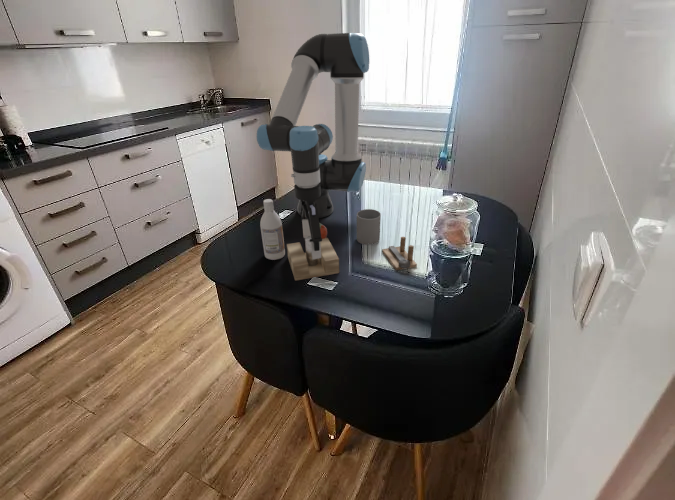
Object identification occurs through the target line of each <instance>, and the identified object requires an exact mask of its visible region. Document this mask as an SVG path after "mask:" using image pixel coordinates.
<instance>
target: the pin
mask: <svg viewBox="0 0 675 500" xmlns="http://www.w3.org/2000/svg"><path fill="white" fill-rule="evenodd" d="M310 239H311V236H308V237H306V238H304V243H305V244H304V245H305V253H306V260H307V262H308V266H316V265H317V264H318V259H312V251H311V242H309V240H310Z"/></svg>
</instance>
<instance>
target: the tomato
mask: <svg viewBox="0 0 675 500" xmlns="http://www.w3.org/2000/svg"><path fill="white" fill-rule="evenodd" d="M319 224H320V231H321V237H322V239H324V238H327V236H328V228H327V227H326V226H325V225H324V224H322V223H321V222H319Z"/></svg>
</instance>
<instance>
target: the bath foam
mask: <svg viewBox="0 0 675 500" xmlns="http://www.w3.org/2000/svg"><path fill="white" fill-rule="evenodd" d="M274 208H275V207H274V201H273V199H271V198H267V199H264V200H263V209H264V212H263V214H262V216H261V218H260V223H259V224H260V225H259V227H260V232H261V239H262V248H263V253H264V257H265V258H266V259H268V260H272V261H273V260H274V261H275V260H280V259H282V258H283V257H285V255H286V249H285V248H286V247H285V241H284V240H285V239H284V231H283V224H282V223H283V222H282V219H281V217H280V216H279V214H278V213H277V212H276V211H275V209H274Z"/></svg>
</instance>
